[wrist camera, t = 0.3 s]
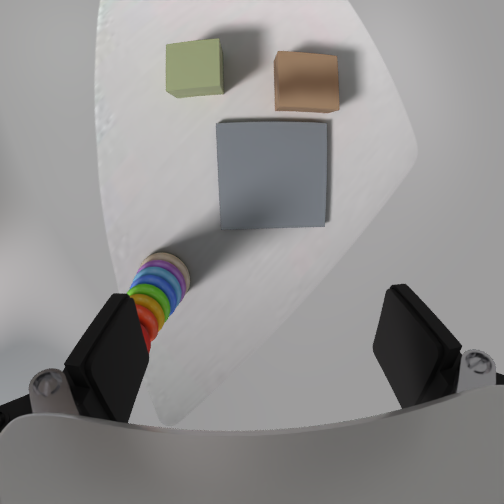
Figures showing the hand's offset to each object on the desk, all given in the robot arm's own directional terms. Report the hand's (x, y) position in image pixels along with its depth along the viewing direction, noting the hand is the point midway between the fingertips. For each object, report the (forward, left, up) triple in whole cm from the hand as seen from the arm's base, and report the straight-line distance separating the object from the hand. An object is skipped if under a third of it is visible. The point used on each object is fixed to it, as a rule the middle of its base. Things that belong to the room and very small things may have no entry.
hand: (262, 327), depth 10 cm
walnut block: (-14, +7, -30) cm, 33 cm away
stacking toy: (+12, -13, -30) cm, 35 cm away
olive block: (-16, -6, -30) cm, 34 cm away
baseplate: (-2, +3, -29) cm, 30 cm away
